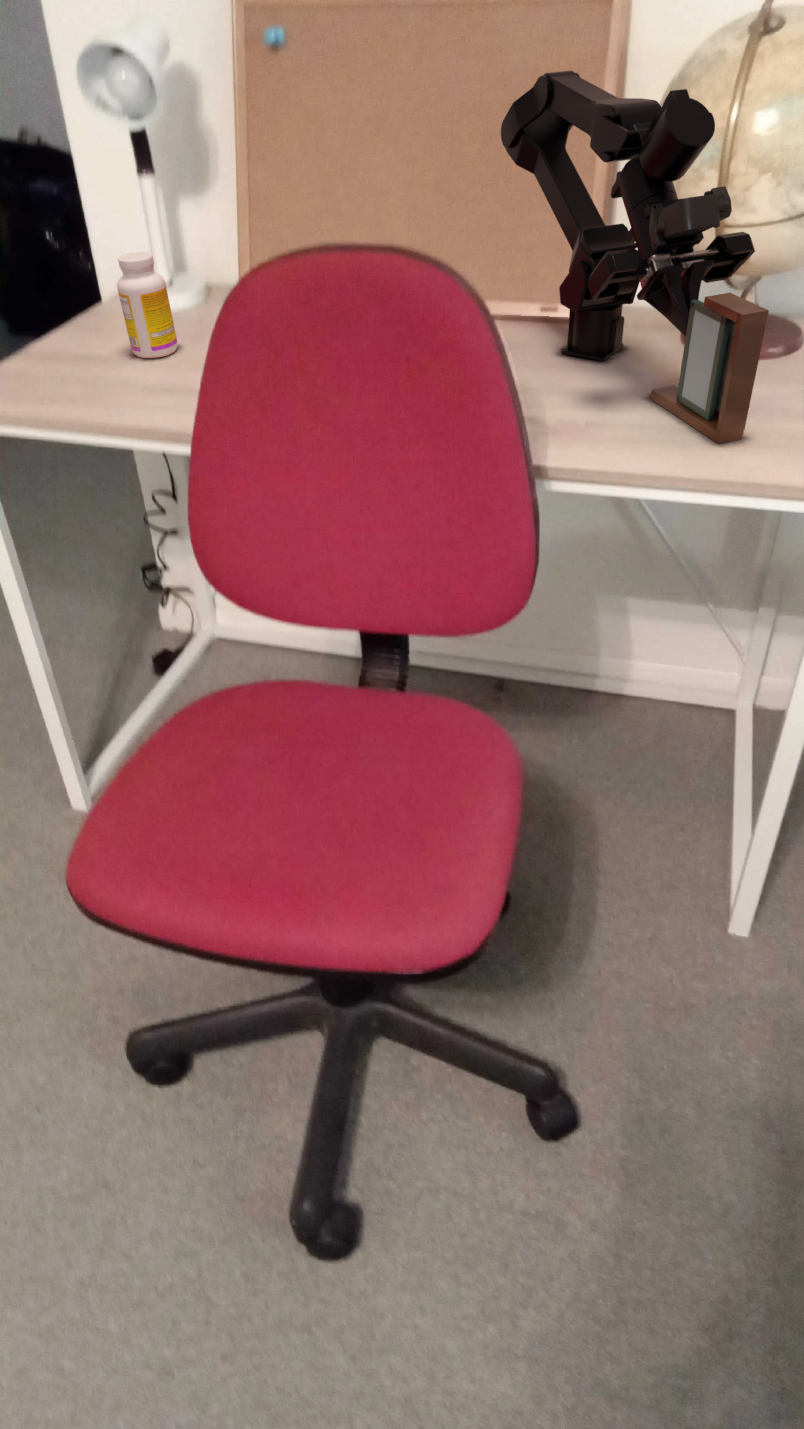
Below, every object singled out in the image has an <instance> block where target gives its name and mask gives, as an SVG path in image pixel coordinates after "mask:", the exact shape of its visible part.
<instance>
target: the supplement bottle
mask: <svg viewBox="0 0 804 1429" xmlns="http://www.w3.org/2000/svg"><path fill="white" fill-rule="evenodd" d="M117 260H118V267H119V269H120V270H121V272H122V276H121V277H120V278H119V279H118V280H117V283H116V288H117V293H118V297H119V301H120V306H121V310H122V313H123V319H124V324H125V328H126V331H127V332H126V333H127V336H128V340H129V344H130V348H131V351H132V353H133V354H134V356H136V357H139V358H143V359H154V358H155V359H156V358H163V357H166V356H170V355H171V354H173V353H174V352H176V351H177V349H178V347H179V345H178V338H177V333H176V328H175V324H174V318H173V314H172V309H171V304H170V300H169V294H168V289H167V284H166V280H165V278H164V276H163V275H161V274H160V273H158V272H156V271H155V269H154V267H155V262H154V261H155V260H154V256H153V254H152V253H151V252H146V251H145V252H144V251H143V252H142V251H140V252H139V251H137V252H129V253H126V254H123V255H120V256H119V257H118V258H117Z"/></svg>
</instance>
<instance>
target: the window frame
mask: <svg viewBox="0 0 804 1429" xmlns="http://www.w3.org/2000/svg"><path fill="white" fill-rule="evenodd" d="M703 303H704V307H706V308H708V309H710V310H712V311H714V312H716V313H718V314H720V315H722V316H724V317H726V318H728V319H730V320H731V324H730V330H729V335H728V341H727V347H726V352H725V358H724V363H723V369H722V374H721V380H720V385H719V391H718V397H717V402H716V408H715V413H714V419H713V420H709V421H707V420H706V419H704V418H703V417H701V416H700V415H698V414H697V413H695V412H694V411H692V410H691V409H689V408H687V407H686V406H684V405H683V404H681V403H680V402H678V401H677V400H676V398H677V392H678V386H677V385H675V384H672V385H667V386H661V387H656V388H652V389H651V391H650V398H649V399H650V400H651V401H653V402H655V403H656V404H657V405H659V406H661V407H662V408H664V409H665V410H666V411H668V412H670V413H671V414H673V415H674V416H675V417H677V418H678V419H680V420H681V421H683V422H684V423H686V424H687V425H689V426H690V427H692V428H694V429H695V430H697V431H698V432H700V433H701V434H702V435H704V436H705V437H707V438H708V439H710V440H711V441H713V442H714V443H716V444H718V445H719V444H724V443H728V442H733V441H738V440H739V441H740V440H742V439H743V436H744V433H745V432H744V431H745V429H746V425H747V419H748V415H749V409H750V405H751V401H752V395H753V389H754V385H755V381H756V376H757V370H758V365H759V361H760V355H761V351H762V346H763V340H764V336H765V331H766V327H767V322H768V317H769V311H770V310H769V309H767V308H765V307H763V306H760V305H758V304H757V303H754V302H752V301H749V300H747V299H746V298H743V297H741V296H739V295H736V294H734V293H732V292H726V293H719V294H713V295H707V296H704V301H703Z"/></svg>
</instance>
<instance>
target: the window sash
mask: <svg viewBox="0 0 804 1429" xmlns="http://www.w3.org/2000/svg"><path fill="white" fill-rule="evenodd" d="M730 324H731V320H730V319H728V318H726V317H724V316H722V315H720V314H718V313H716V312H714V311H712V310H710V309H708V308H706V307H704V301H701V300H700V299H699V300H691V305H690V312H689V319H688V325H687V332H686V337H685V340H684V346H683V353H682V359H681V365H680V366H681V367H680V372H679V377H678V378H679V379H678V386H677V387H678V392H677V398H676V400H677V401H678V402H680V403H681V404H683V405H684V406H686V407H687V408H689V409H691V410H692V411H694V412H695V413H697V414H698V415H700V416H701V417H703V418H704V419H706V420H707V421H709V420H713V419H714V413H715V408H716V402H717V397H718V391H719V385H720V380H721V374H722V369H723V363H724V358H725V352H726V347H727V341H728V335H729V330H730Z"/></svg>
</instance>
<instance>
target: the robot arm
mask: <svg viewBox="0 0 804 1429" xmlns="http://www.w3.org/2000/svg"><path fill="white" fill-rule="evenodd" d="M573 127H575V128H577V129H579V130H580V131H582V132H584V133H585V134H587V135H588V136H589V137H590V142H589V147H590V149H591V151H593V152H594V153H595V154H596V156H597V157H599V159H600V160H601V161H602V162H603V163H606V164H608V163H616V162H624V161H627V162H626V163H625V164H624V166H623V168H622V169H621V171H620V170H619V171H617V172H616V178H615V181H614V183H613V184H612V186H611V190H610V197H611V199H619V198H621V199H622V201H623V202H622V203H623V205H624V209H625V212H626V216H627V218H628V222H629V225H630V229H629V228H628V227H627V225H625V224H624V223H616V224H609V225H606V223H605V221H604V220H603V217H602V216H601V214H600V212H599V210H598V208H597V207H596V204H595V203H594V200H593V199H592V196H591V194H590V193H589V190H588V189H587V187H586V185H585V183H584V181H583V180H582V177H581V175H580V174H579V172H578V170H577V168H576V166H575V164H574V162H573V161H572V158H571V156H570V154H569V153H568V151H567V148H566V147H567V143H568V138H569V133H570V131H571V130H572V128H573ZM715 129H716V122H715V118H714V115H713V113H712V112H710V111H709V110H708V108H707V107H706V106H705V105H704V104H703V103H701V101H698V100H697V99H694V98H692V97H690V94H689V91H688V88H682V89H673V90H672V89H671V90H670V91H669V92H668V93H667V95H666V97H665V99H664V101H663V103H662V105H661V104H660V102H659V101H658V100H656V99H650V98H640V97H638V98H634V97H633V98H630V97H629V98H627V97H626V98H625V97H624V98H623V97H618V96H615V95H614V94H612V93H610V92H608V91H607V90H604V89H603V88H601V87H599V86H597V85H595V84H594V83H591V82H589V81H588V80H586V79H584V78H582V77H581V76H580V74H579V73H578V72H574V71H573V70H562V71H552V72H551V71H550V72H545V73H543V75H540V76H538V77H537V79H536V81H535V83H534V84H533V86H532V87H531V88H530V89H528V91H526V92H525V93H524V94H522V95H520V96H519V98H517V99H515V100H514V101H513V102H512V104H511V106H510V107H509V109H508V111H507V112H506V114H505V116H504V118H503V120H502V122H501V126H500V138H501V143H502V146H503V148H505V151H506V153H507V154H508V156H509V157H510V158H511V160H512V161H513V163H514V164H515V165H516V166H518V167H519V168H521V169H523V170H525V171H526V172H529V173H531V174H533V175H534V177H535V179H536V181H537V183H538V185H539V187H540V190H541V191H542V193H543V195H544V197H545V199H546V201H547V203H548V205H549V207H550V209H551V210H552V213H553V215H554V216H555V218H556V221H557V223H558V224H559V227H560V228H561V231H562V234H564V237H565V238H566V240H567V243H568V244H569V247H570V248H571V251H572V253H571V258H570V262H569V267H568V274H567V275H566V277H565V278H564V279H563V280H562V283H561V284H560V285H559V287H558V289H559V301H560V305H561V306H563V307H566V308H567V309H568V310H569V314H568V326H567V327H568V328H567V342H566V343H567V344H566V346H564V347H562V348H561V350H560V353H561V354H562V355H563V354H564V355H568V356H574V357H579V358H582V359H583V358H584V359H589V360H593V361H599V362H603V361H604V362H605V361H606V360H607V359H609V358H610V357H611V356H613V355H615V353H617V352H619V351H620V350H621V349H623V348H624V343H623V338H624V337H623V336H624V328H625V320H626V319H625V317H624V316H623V306H624V305H632V304H633V303H634V300H635V298H636V299H637V300H638V301H645V302H646V303H647V304H649V305H650V306H651V307H652V308H653V309H655V310H656V311H657V312H659V313H660V314H661V315H662V316H663V317H664V318H665V319H667V320H668V321H669V323H671V325H673V326H674V327H675V329H677V331H679V332H680V333H681V334H682V335H683V336H684V337H685V338H686V332H687V325H688V319H689V312H690V305H691V300H699V301H700V299H699V298H700V292H701V285H702V281H703V282H704V283H706V284H708V283H715V282H720V281H726V280H727V279H729V278H731V277H733V276H734V274H736V272H737V271H738V270H739V269H740V268H741V267H742V266H743V265H744V264H745V263H746V262H747V261H748V260H749V259H750V258H751V256H752V255H754V253H755V252H756V249H755V246H754V243H753V240H752V238H751V235H750V233H747V232H744V231H738V232H731V233H725V234H717V235H716V237H715V238H714V239H713V240H712V241H711V242H710V243H709V245H708V246H707V247H706V248H705V249H701V250H696V251H695V249H694V246H696V245H699V244H700V243H701V242H702V241H703V240H704V238H705V236H704V234H703V233H704V232H706V231H708V230H710V229H712V228H714V229H717V228H719V227H721V221H723V220H726V219H727V218H730V216H731V214H732V211H733V209H732V198H731V196H730V193H729V192H728V189H727V187H726V186H718V187H712V188H711V189H710V190H707V191H705V192H704V193H703V195H698V196H690V197H689V196H688V197H683V198H679V196H678V193H677V190H676V187H675V183H674V182H676V181H678V180H680V179H682V178H683V177H684V176H685V175H686V173H687V172H688V171H689V169H690V168H691V166H692V165H693V164H694V162H696V160H697V159H698V157H699V156H700V154H701V153H702V152H703V150H704V149H705V148H706V147H707V145H708V143H710V141H711V139H712V138H713V136H714V134H715V131H716V130H715ZM639 285H640V287H641V289H640V291H639V292H638V293H637V291H638V288H639Z"/></svg>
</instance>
